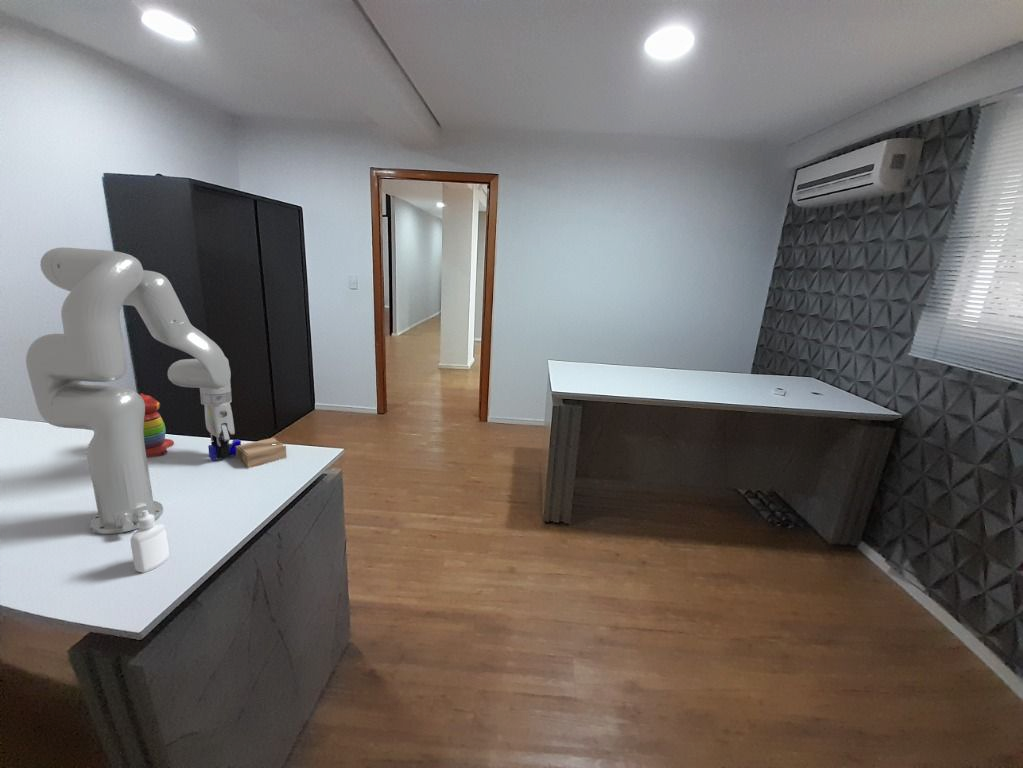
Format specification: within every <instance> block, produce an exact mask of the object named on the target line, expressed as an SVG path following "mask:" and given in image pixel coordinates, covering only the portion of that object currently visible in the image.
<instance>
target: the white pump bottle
mask: <svg viewBox="0 0 1023 768" xmlns="http://www.w3.org/2000/svg"><path fill="white" fill-rule="evenodd" d="M138 524H139V528H138V529H136V531H135V532H134V533H133V534H132V536H131V537H130V548H131V552H132V559H133V565H134V570H135V571H136V572H139V573H142V574H143V573H147V572H150V571H153V570H154V569H156V568H158V567H160V566H162V565H163V564H164V563H165V562H167V561H168V559H169V558H170V556H171V553H170V546H169V541H168V540H169V539H168V534H167V528H166V524H164V523H160V522H156V520H155V519H154V515H153V514H149V513H148V511H147V510H144V511H143V512H142V516H141V517H139V518H138Z"/></svg>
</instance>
